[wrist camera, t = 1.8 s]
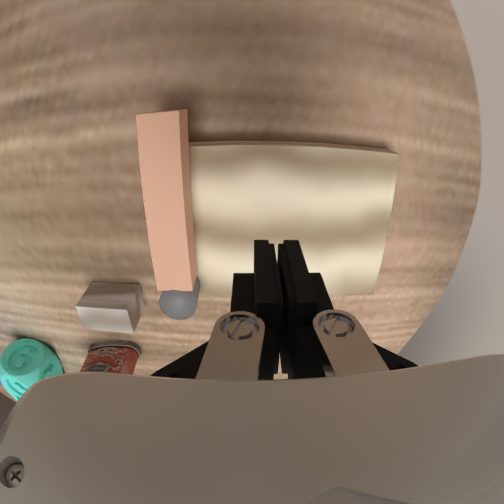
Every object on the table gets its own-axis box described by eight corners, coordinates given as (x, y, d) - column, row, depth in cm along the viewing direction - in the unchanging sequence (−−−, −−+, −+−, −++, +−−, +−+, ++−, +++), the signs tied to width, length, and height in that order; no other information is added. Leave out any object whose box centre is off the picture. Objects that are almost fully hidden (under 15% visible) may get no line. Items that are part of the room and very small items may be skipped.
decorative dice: (30, 367, 40) (12, 401, 33) (15, 332, 36) (-9, 367, 29) (68, 378, 41) (50, 416, 34) (53, 343, 37) (31, 383, 30)
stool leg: (201, 299, 29) (197, 320, 27) (168, 299, 29) (162, 319, 27) (188, 108, 21) (180, 110, 19) (148, 112, 21) (134, 114, 18)
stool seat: (65, 155, 25) (39, 166, 21) (387, 148, 25) (410, 159, 21) (98, 303, 33) (83, 328, 29) (360, 305, 33) (372, 332, 29)
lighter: (134, 338, 36) (111, 402, 27) (145, 356, 37) (126, 419, 28) (85, 342, 36) (58, 399, 28) (97, 360, 38) (74, 416, 29)
